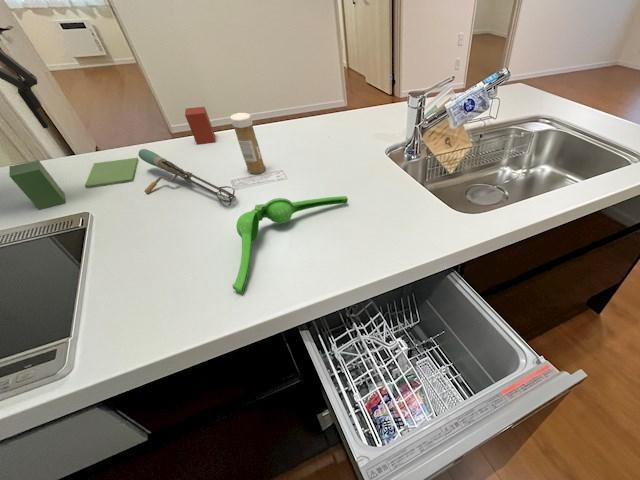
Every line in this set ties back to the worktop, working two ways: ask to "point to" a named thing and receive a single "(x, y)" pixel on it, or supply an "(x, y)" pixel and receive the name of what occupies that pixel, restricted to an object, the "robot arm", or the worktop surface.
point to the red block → (200, 125)
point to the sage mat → (112, 172)
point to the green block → (37, 184)
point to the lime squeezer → (278, 213)
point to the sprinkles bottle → (248, 142)
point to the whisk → (172, 168)
